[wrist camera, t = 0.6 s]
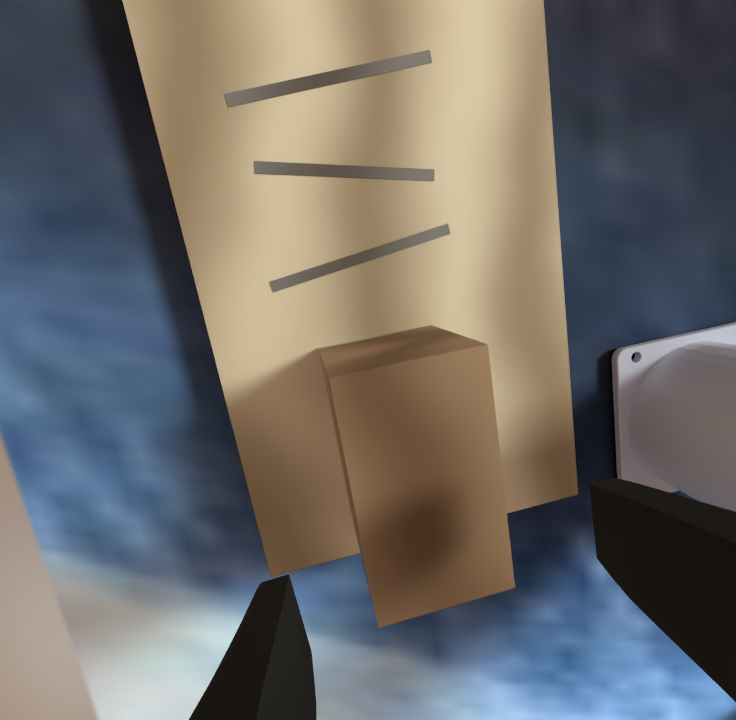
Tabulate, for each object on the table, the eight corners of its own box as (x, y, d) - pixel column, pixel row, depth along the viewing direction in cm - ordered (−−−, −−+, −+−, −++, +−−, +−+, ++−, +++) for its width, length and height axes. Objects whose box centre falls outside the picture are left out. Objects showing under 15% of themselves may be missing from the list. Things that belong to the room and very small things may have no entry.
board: (510, -109, 16) (533, -149, 14) (558, 479, 21) (578, 494, 19) (110, -85, 14) (89, -129, 12) (272, 554, 19) (271, 577, 17)
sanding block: (431, 325, 17) (487, 344, 12) (456, 506, 18) (515, 587, 13) (318, 347, 16) (328, 377, 11) (355, 532, 18) (378, 628, 13)
